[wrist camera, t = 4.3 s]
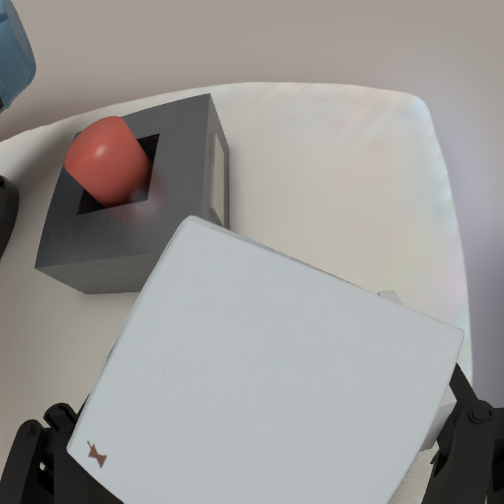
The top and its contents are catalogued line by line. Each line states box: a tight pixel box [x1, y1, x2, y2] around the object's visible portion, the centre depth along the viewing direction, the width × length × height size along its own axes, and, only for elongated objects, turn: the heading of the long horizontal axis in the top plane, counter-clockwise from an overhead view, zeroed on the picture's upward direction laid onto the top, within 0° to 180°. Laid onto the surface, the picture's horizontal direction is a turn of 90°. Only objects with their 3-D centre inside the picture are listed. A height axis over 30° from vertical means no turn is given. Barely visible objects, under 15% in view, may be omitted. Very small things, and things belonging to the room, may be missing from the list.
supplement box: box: [67, 215, 464, 504], centre depth 11 cm, size 7×7×13 cm
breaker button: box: [64, 116, 153, 209], centre depth 17 cm, size 4×4×5 cm
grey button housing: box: [35, 93, 229, 294], centre depth 20 cm, size 12×12×6 cm
